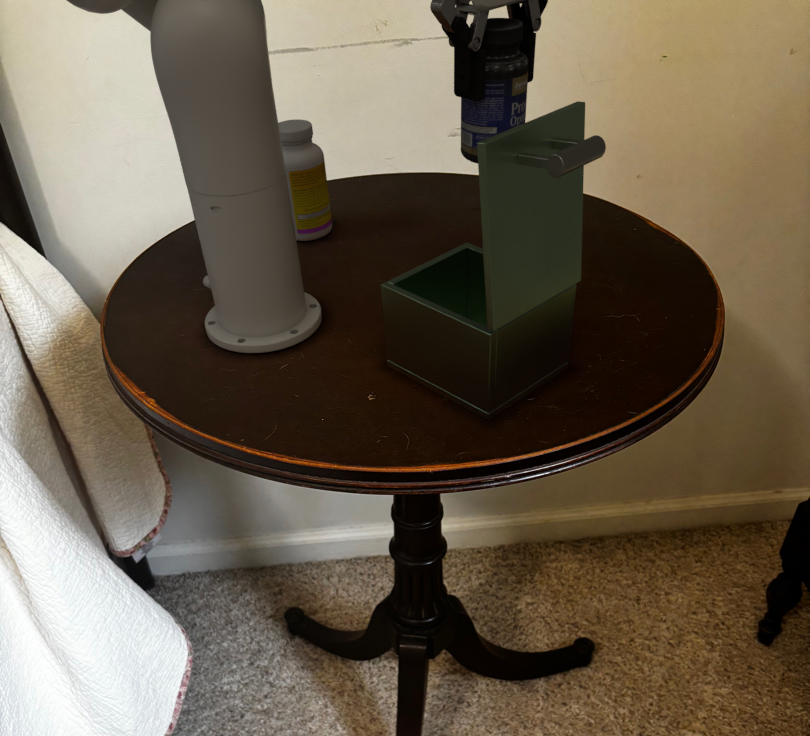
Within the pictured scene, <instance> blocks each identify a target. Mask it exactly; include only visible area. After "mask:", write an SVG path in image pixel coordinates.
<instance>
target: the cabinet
mask: <svg viewBox="0 0 810 736" xmlns="http://www.w3.org/2000/svg"><path fill="white" fill-rule="evenodd" d="M577 287H578V286H577V283H576V284H574V285H572V286H571V287H569V288H567V289H566V290H564V291H562V292H560V293H559V294H557V295H555V296H554V297H552V298H550V299H548V300H547V301H545V302H543V303H542V304H540V305H538V306H536V307H535V308H533V309H531V310H530V311H528V312H526V313H524V314H523V315H521V316H519V317H517V318H516V319H514V320H512V321H511V322H509V323H507V324H505V325H504V326H502V327H500V328H499V329H497V330H495V331H493V330H490V329H488V328H487V311H486V294H485V276H484V258H483V247H479V246H477V245H474V244H472V243H469V242H464V243H463V244H461V245H459V246H457V247H454V248H452V249H449V250H448V251H446V252H444V253H442V254H440V255H438V256H436V257H434V258H432V259H430V260H428V261H426V262H424V263H422V264H419V265H418V266H415V267H414V268H412V269H410V270H408V271H406V272H404V273H402V274H399V275H398V276H396V277H393V278H391V279H390V280H387V281H385V282H382V283H381V284H380V291H381V303H382V316H383V317H382V318H383V329H384V330H383V331H384V343H385V353H386V355H385V357H386V366H387V367H388V368H389V369H391V370H393V371H395V372H397V373H399V374H401V375H402V376H404V377H406V378H408V379H410V380H411V381H412V382H415V383H417V384H419V385H420V386H422V387H424V388H427V389H428V390H430V391H432V392H434V393H436V394H438V395H439V396H441V397H443V398H445V399H446V400H449V401H450V402H452V403H454V404H456V405H458V406H460V407H461V408H464V409H466V410H467V411H469V412H471V413H473V414H475V415H476V416H478V417H480V418H482V419H484V420H486V421H490V420H492V419H493V418H495V417H496V416H498V415H499V414H501V413H502V412H504V411H505V410H508V408H510V407H512V406H513V405H515V404H516V403H518V402H519V401H521V400H523V399H524V398H525V397H527V396H528V395H530V394H531V393H533V392H534V391H536V390H538V389H539V388H541V387H542V386H543V385H545V384H547V383H548V382H550V381H551V380H553V379H554V378H556V377H558V375H561V374H562V373H563V372H565V371H566V370H568V369H569V360H570V352H571V341H572V332H573V323H574V315H575V304H576V294H577Z"/></svg>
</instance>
